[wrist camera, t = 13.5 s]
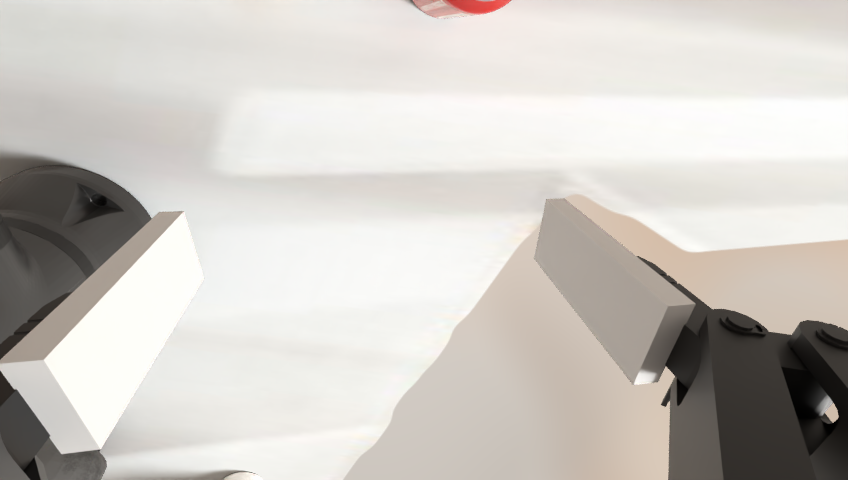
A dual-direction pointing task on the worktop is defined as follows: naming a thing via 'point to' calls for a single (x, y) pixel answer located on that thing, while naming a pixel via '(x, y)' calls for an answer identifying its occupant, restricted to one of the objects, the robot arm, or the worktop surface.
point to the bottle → (243, 476)
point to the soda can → (458, 7)
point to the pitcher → (71, 463)
